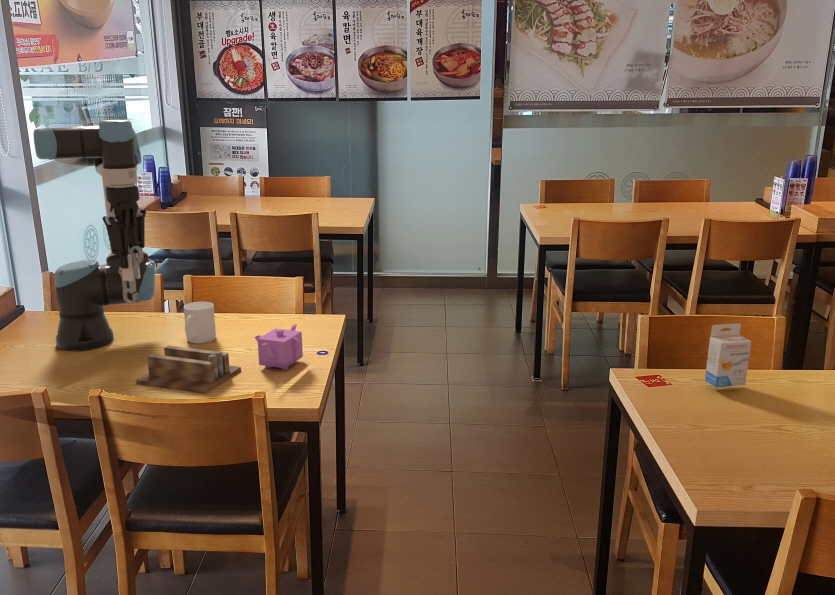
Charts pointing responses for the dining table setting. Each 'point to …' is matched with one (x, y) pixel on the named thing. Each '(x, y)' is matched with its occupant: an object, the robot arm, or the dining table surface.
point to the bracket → (135, 268)
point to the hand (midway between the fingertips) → (131, 279)
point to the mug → (199, 322)
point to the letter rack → (188, 369)
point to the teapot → (280, 348)
